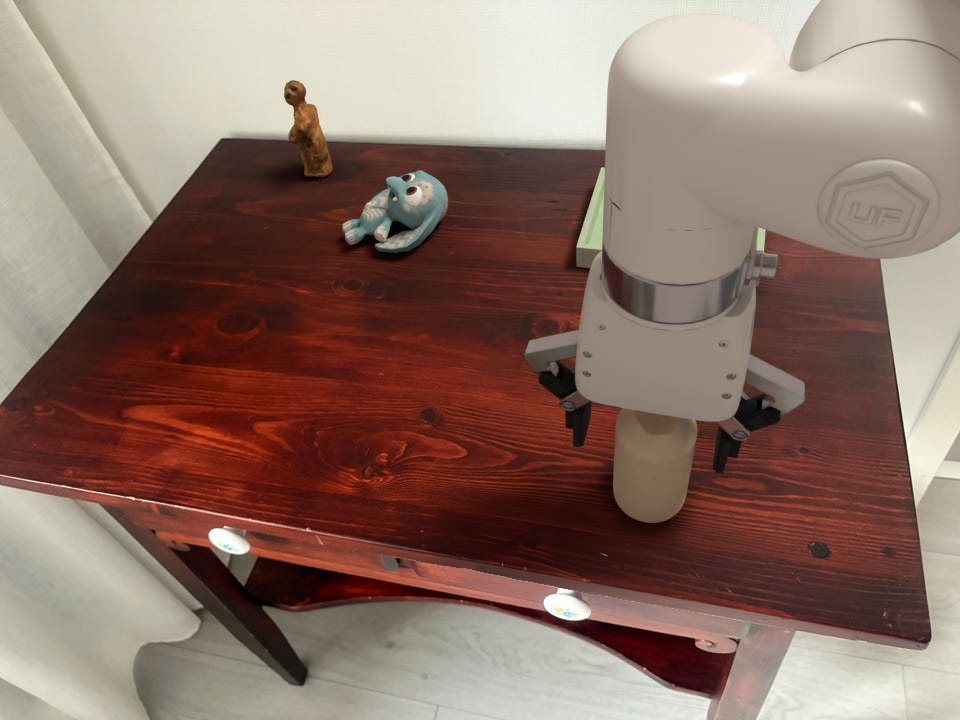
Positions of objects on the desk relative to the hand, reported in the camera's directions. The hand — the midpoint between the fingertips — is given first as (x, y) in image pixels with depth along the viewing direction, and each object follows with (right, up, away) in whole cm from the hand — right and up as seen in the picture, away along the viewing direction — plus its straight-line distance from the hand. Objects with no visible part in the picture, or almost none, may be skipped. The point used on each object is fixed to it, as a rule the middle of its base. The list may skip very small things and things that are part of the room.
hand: (649, 443), depth 53 cm
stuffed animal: (-21, +20, +30) cm, 41 cm away
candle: (+1, -4, +5) cm, 7 cm away
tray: (+8, +19, +24) cm, 32 cm away
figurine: (-32, +29, +39) cm, 58 cm away
